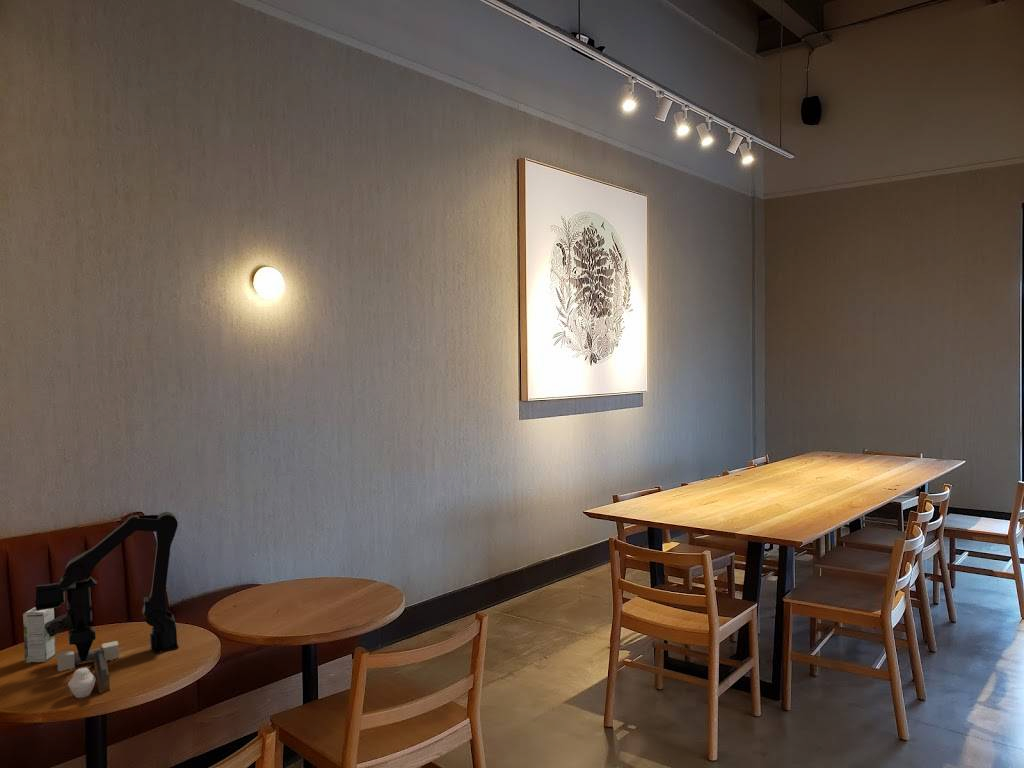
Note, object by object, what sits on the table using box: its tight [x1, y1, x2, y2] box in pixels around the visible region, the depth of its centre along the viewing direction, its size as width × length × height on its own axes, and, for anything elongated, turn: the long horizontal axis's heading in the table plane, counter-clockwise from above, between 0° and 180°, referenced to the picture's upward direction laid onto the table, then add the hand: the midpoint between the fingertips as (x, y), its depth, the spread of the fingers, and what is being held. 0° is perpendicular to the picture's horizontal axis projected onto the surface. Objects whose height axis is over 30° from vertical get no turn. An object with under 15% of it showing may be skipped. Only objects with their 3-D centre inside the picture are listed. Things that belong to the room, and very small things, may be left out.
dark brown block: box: [93, 649, 111, 694], centre depth 201 cm, size 2×22×4 cm, turn 32°
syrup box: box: [22, 606, 57, 664], centre depth 217 cm, size 6×6×14 cm
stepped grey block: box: [96, 649, 107, 678], centre depth 197 cm, size 2×16×2 cm, turn 32°
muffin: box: [67, 667, 97, 699], centre depth 190 cm, size 6×6×7 cm
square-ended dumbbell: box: [56, 640, 120, 672], centre depth 213 cm, size 15×4×4 cm, turn 122°
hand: (82, 658), depth 212 cm, fingers open, 4 cm apart
